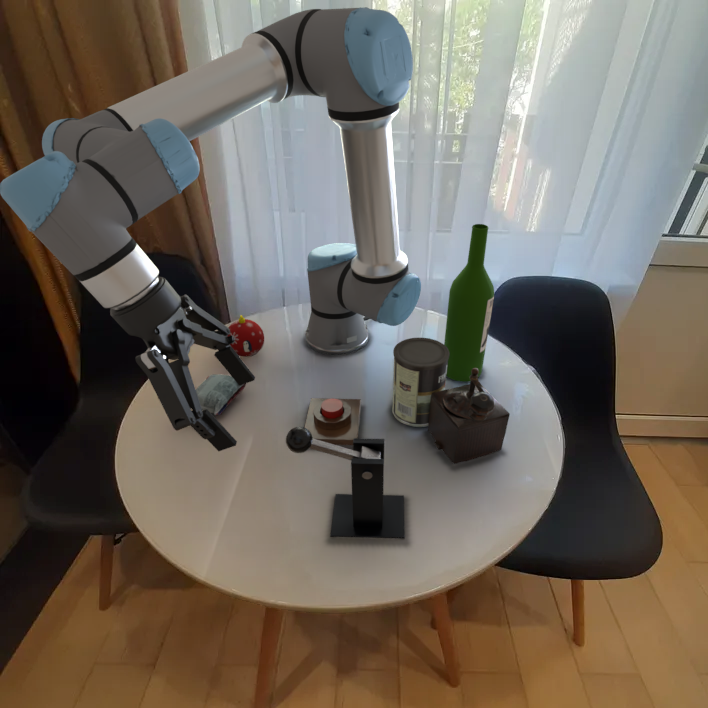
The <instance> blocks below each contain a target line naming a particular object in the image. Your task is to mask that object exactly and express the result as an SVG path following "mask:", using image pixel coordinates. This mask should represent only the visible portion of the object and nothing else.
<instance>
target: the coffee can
mask: <svg viewBox="0 0 708 708" xmlns="http://www.w3.org/2000/svg"><path fill="white" fill-rule="evenodd" d="M392 353H393V379H392V383H393V384H392V406H391V411H392V412H391V413H392V415H393V416H394V418H395V419H396V420H397V421H398V422H399V423H401V424H403V425H406V426H408V427H413V428H425V427H428V423H429V412H430V400H431V394H432V393H435V392H438V391H442V390H446V384H447V383H446V382H447V376H446V374H447V365H448V359H449V350H448V348H447V347H446V346H445V345H444V343H442V342H440V341H438V340H436V339H432V338H430V337H429V338H428V337H410V338H406V339H403V340H401V341H399V342H397V344H396V345H395V346H394V347H393V352H392Z"/></svg>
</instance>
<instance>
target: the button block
mask: <svg viewBox="0 0 708 708" xmlns="http://www.w3.org/2000/svg"><path fill="white" fill-rule="evenodd" d="M327 399H328V398H326V397H325V398H323V397H322V398H320V397H312V398H310V400H309V405H308V409H307V413H306V418H305V422H304V426H303V427H304V428H306V429H308V430H309V431H310V432H311V434H312V438H313V439H317V440H320V441H324V442H327V443H330V444H334V445H337V446H353V439H354V438H359V430H360V425H361V413H362V399H361V398H337V399H338V400H340V401H341V402H342V403H343V414H342V415H341V416H340V417H337V418H334V419H333V418H326V417H324V416H323V415H322V410H321V404H322V402H323V401H325V400H327Z"/></svg>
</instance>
